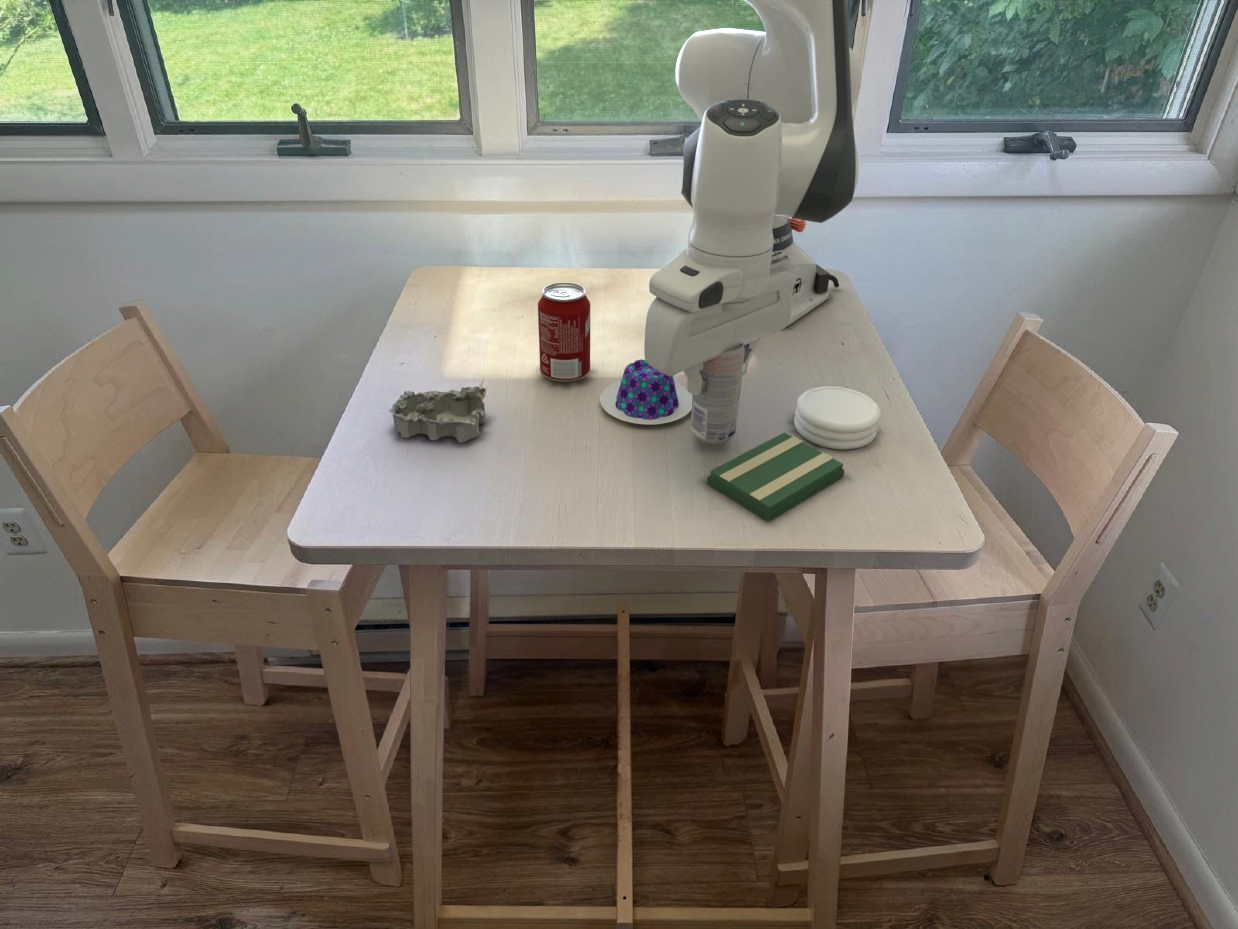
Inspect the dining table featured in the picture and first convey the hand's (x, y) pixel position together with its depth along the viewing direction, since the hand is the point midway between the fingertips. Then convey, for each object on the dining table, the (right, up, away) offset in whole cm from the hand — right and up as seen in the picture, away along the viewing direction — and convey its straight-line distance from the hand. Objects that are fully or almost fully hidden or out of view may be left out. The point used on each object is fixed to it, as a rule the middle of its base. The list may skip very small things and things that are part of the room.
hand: (716, 383), depth 99 cm
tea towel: (+6, -11, -2) cm, 13 cm away
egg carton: (-33, -5, +6) cm, 34 cm away
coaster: (+15, -5, +8) cm, 18 cm away
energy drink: (0, -6, +4) cm, 7 cm away
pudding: (-8, -2, +12) cm, 14 cm away
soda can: (-18, +3, +18) cm, 26 cm away
